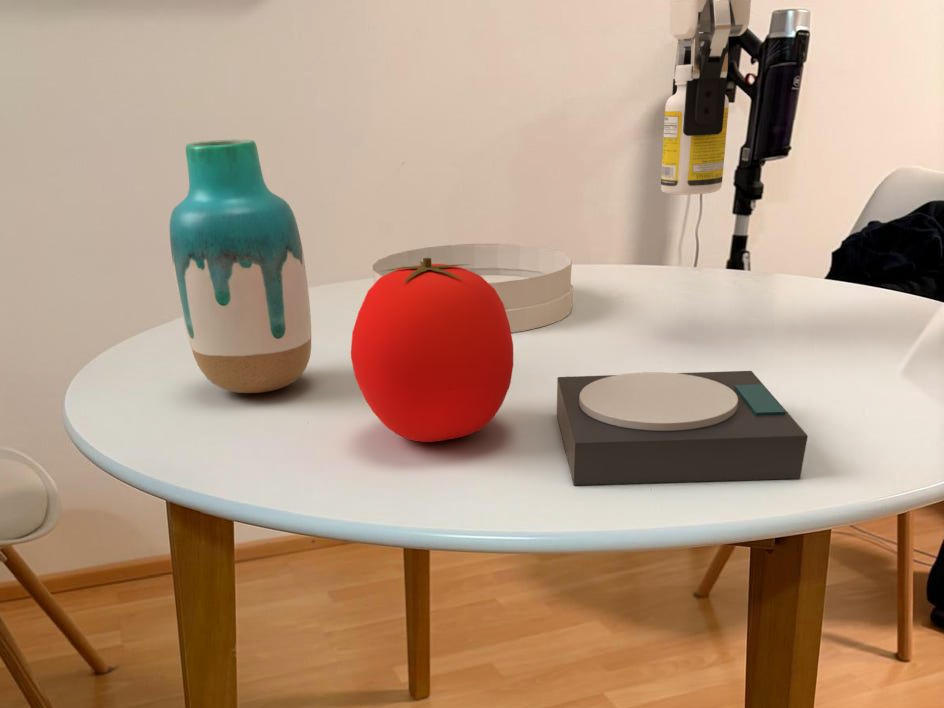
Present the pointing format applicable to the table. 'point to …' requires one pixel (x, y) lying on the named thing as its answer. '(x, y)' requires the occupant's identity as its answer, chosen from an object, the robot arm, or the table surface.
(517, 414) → the table surface
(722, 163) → the supplement bottle
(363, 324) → the tomato
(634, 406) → the scale
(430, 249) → the dish
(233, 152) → the vase
